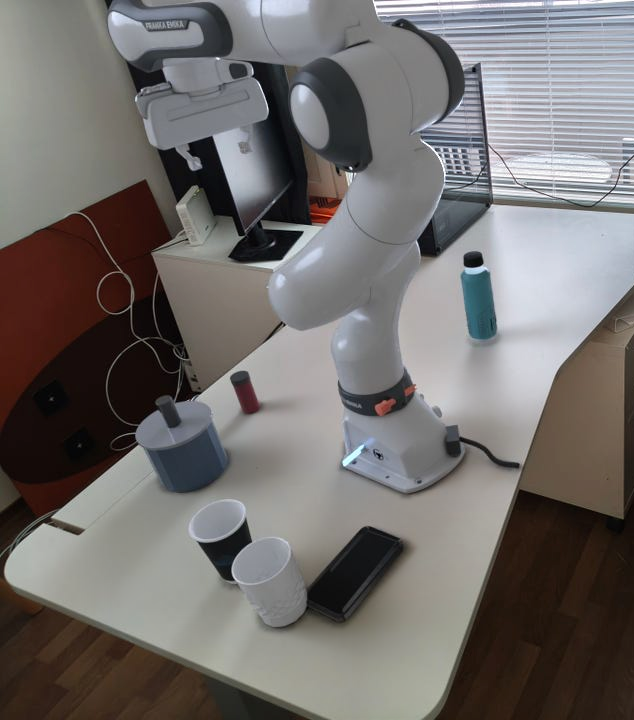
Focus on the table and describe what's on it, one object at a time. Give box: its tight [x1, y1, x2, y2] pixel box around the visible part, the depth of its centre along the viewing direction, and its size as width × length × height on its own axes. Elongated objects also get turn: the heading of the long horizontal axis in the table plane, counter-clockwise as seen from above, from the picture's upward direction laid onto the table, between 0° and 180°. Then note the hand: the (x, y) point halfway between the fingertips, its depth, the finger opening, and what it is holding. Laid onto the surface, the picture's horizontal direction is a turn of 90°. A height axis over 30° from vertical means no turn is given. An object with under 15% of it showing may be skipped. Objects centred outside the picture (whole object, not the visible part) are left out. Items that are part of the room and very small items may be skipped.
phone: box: [306, 525, 405, 623], centre depth 100 cm, size 8×1×15 cm
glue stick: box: [229, 370, 261, 415], centre depth 136 cm, size 4×4×8 cm
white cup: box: [232, 536, 307, 628], centre depth 94 cm, size 8×8×10 cm
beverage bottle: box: [459, 250, 498, 341], centre depth 145 cm, size 6×7×20 cm
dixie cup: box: [188, 499, 253, 585], centre depth 100 cm, size 8×8×11 cm
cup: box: [142, 419, 228, 493], centre depth 121 cm, size 12×12×10 cm
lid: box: [134, 394, 213, 450], centre depth 117 cm, size 13×13×6 cm
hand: (222, 160), depth 118 cm, fingers open, 8 cm apart
